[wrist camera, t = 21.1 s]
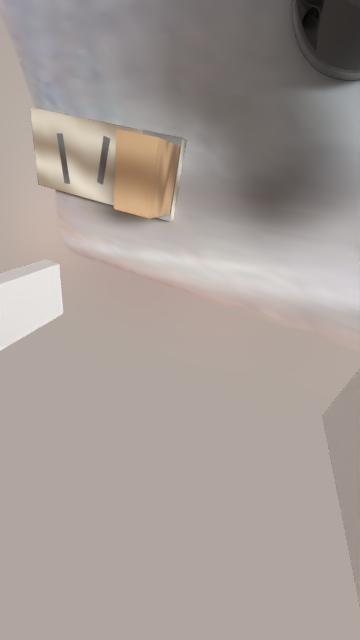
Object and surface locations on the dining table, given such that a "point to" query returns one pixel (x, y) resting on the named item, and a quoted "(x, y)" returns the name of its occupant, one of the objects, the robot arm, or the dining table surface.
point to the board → (84, 155)
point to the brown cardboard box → (144, 174)
